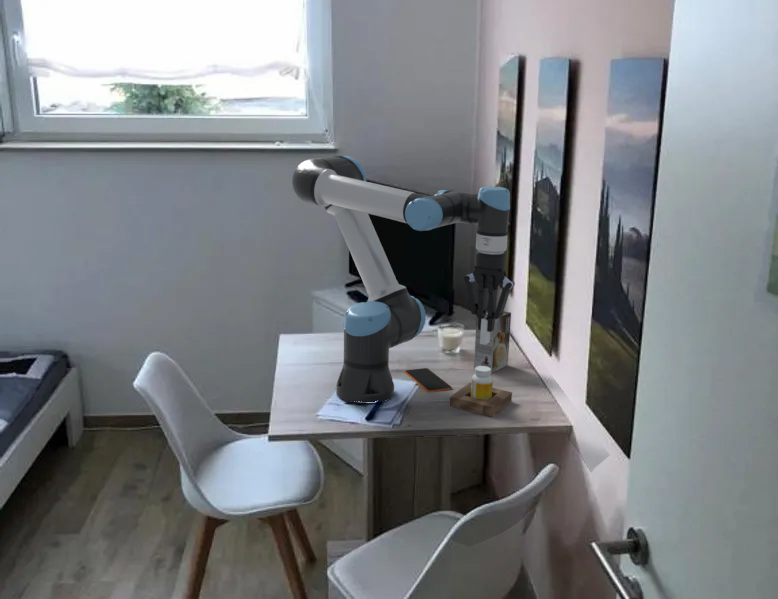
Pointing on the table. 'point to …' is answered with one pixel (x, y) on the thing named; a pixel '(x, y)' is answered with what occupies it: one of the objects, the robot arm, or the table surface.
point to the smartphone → (428, 380)
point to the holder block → (480, 401)
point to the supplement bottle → (482, 383)
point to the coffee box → (494, 344)
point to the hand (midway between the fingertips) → (484, 342)
